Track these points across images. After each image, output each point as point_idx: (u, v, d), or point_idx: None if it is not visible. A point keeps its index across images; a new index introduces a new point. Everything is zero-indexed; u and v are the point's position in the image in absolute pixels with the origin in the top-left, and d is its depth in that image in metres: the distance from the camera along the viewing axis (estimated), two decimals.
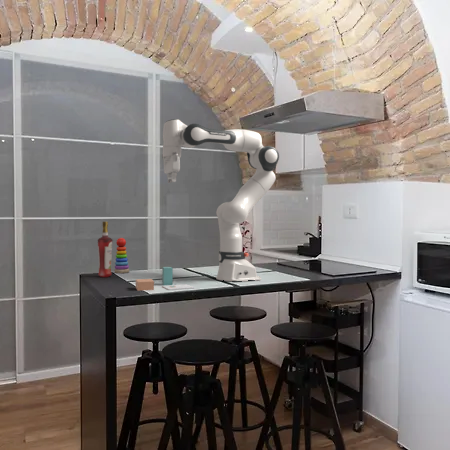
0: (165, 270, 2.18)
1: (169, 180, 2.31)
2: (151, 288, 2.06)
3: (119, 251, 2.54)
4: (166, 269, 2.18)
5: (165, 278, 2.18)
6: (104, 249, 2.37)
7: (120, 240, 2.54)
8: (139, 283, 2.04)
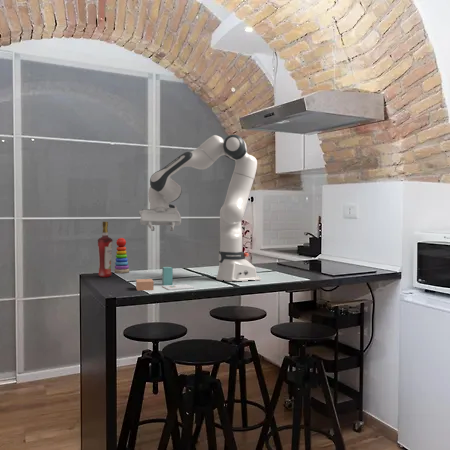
0: (165, 270, 2.18)
1: (170, 229, 2.34)
2: (151, 288, 2.06)
3: (119, 251, 2.54)
4: (166, 269, 2.18)
5: (165, 278, 2.18)
6: (104, 249, 2.37)
7: (120, 240, 2.54)
8: (139, 283, 2.04)
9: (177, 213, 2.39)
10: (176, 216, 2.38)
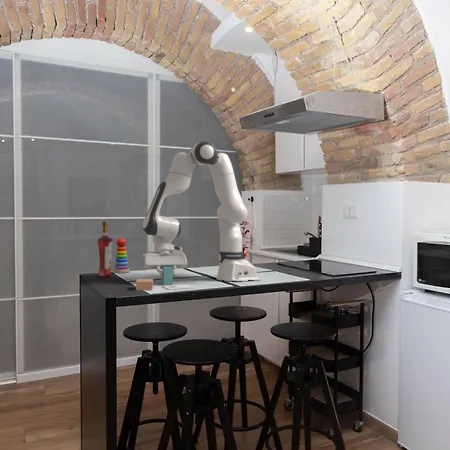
0: (165, 270, 2.18)
1: None
2: (149, 288, 2.05)
3: (119, 251, 2.54)
4: (166, 269, 2.18)
5: (165, 278, 2.18)
6: (104, 249, 2.37)
7: (120, 240, 2.54)
8: (137, 283, 2.05)
9: (183, 255, 2.27)
10: (182, 259, 2.26)
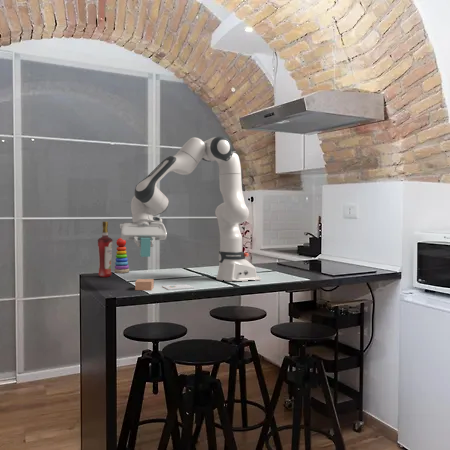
0: (142, 240, 2.06)
1: None
2: (149, 288, 2.05)
3: (119, 251, 2.54)
4: (143, 239, 2.06)
5: (142, 249, 2.06)
6: (104, 249, 2.37)
7: (120, 240, 2.54)
8: (137, 283, 2.05)
9: (162, 226, 2.15)
10: (161, 230, 2.14)
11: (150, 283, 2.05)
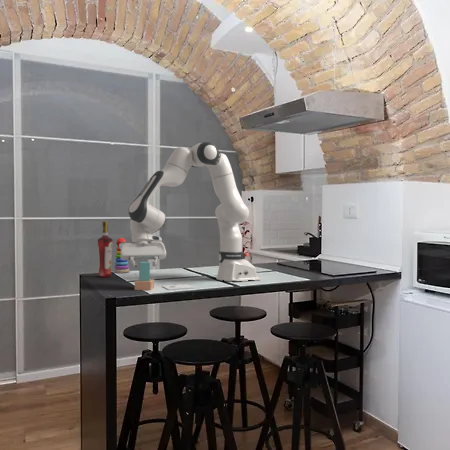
0: (142, 265, 2.06)
1: None
2: (148, 288, 2.05)
3: (119, 251, 2.54)
4: (143, 264, 2.06)
5: (142, 273, 2.06)
6: (104, 249, 2.37)
7: (120, 240, 2.54)
8: (136, 283, 2.05)
9: (162, 245, 2.15)
10: (160, 249, 2.14)
11: (149, 283, 2.05)
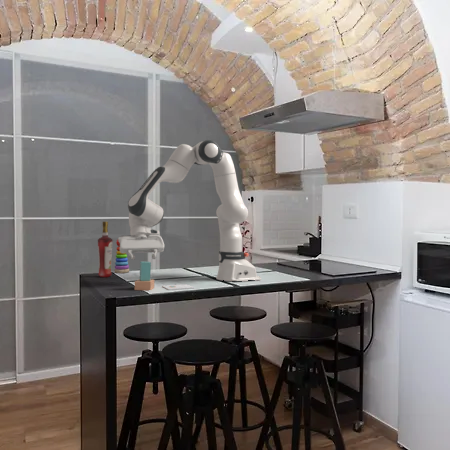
0: (143, 265, 2.06)
1: (152, 256, 2.15)
2: (148, 288, 2.05)
3: (119, 251, 2.54)
4: (144, 263, 2.06)
5: (142, 273, 2.06)
6: (104, 249, 2.37)
7: None
8: (136, 283, 2.05)
9: (160, 239, 2.20)
10: (159, 242, 2.19)
11: (149, 283, 2.05)
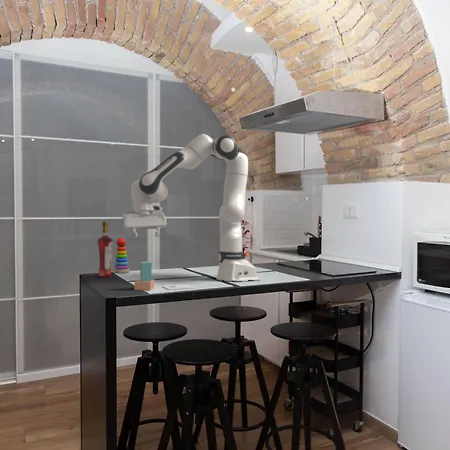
0: (143, 265, 2.05)
1: (155, 234, 2.26)
2: (147, 289, 2.05)
3: (119, 251, 2.54)
4: (145, 264, 2.06)
5: (144, 274, 2.06)
6: (104, 249, 2.37)
7: (120, 240, 2.54)
8: (136, 283, 2.05)
9: (162, 215, 2.29)
10: (161, 219, 2.28)
11: (149, 283, 2.04)
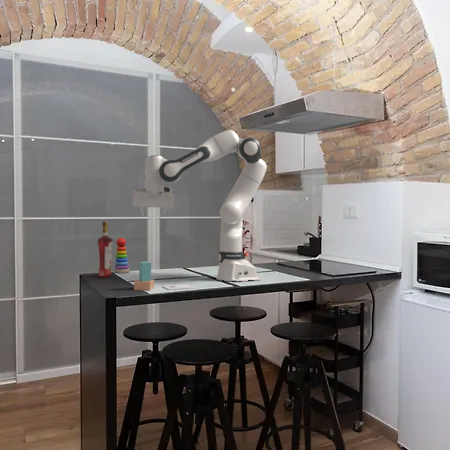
0: (143, 265, 2.05)
1: (161, 214, 2.35)
2: (147, 289, 2.04)
3: (119, 251, 2.54)
4: (144, 264, 2.06)
5: (143, 274, 2.06)
6: (104, 249, 2.37)
7: (120, 240, 2.54)
8: (135, 283, 2.05)
9: (171, 197, 2.34)
10: (169, 201, 2.34)
11: (148, 283, 2.04)
